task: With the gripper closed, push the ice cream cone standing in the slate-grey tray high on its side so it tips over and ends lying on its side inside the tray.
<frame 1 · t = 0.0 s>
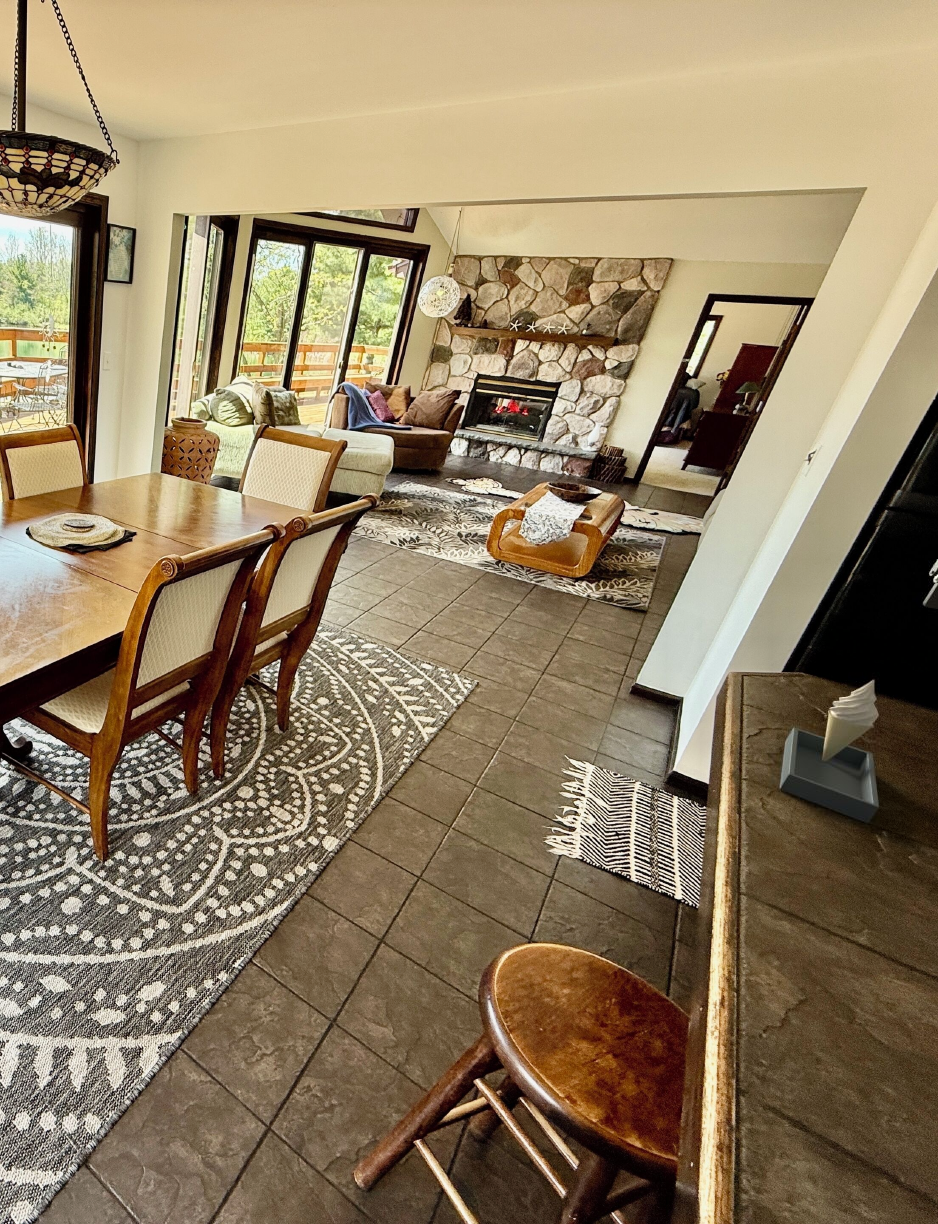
tray: (822, 778, 98), on the countertop
ice cream cone: (823, 761, 103), resting on tray
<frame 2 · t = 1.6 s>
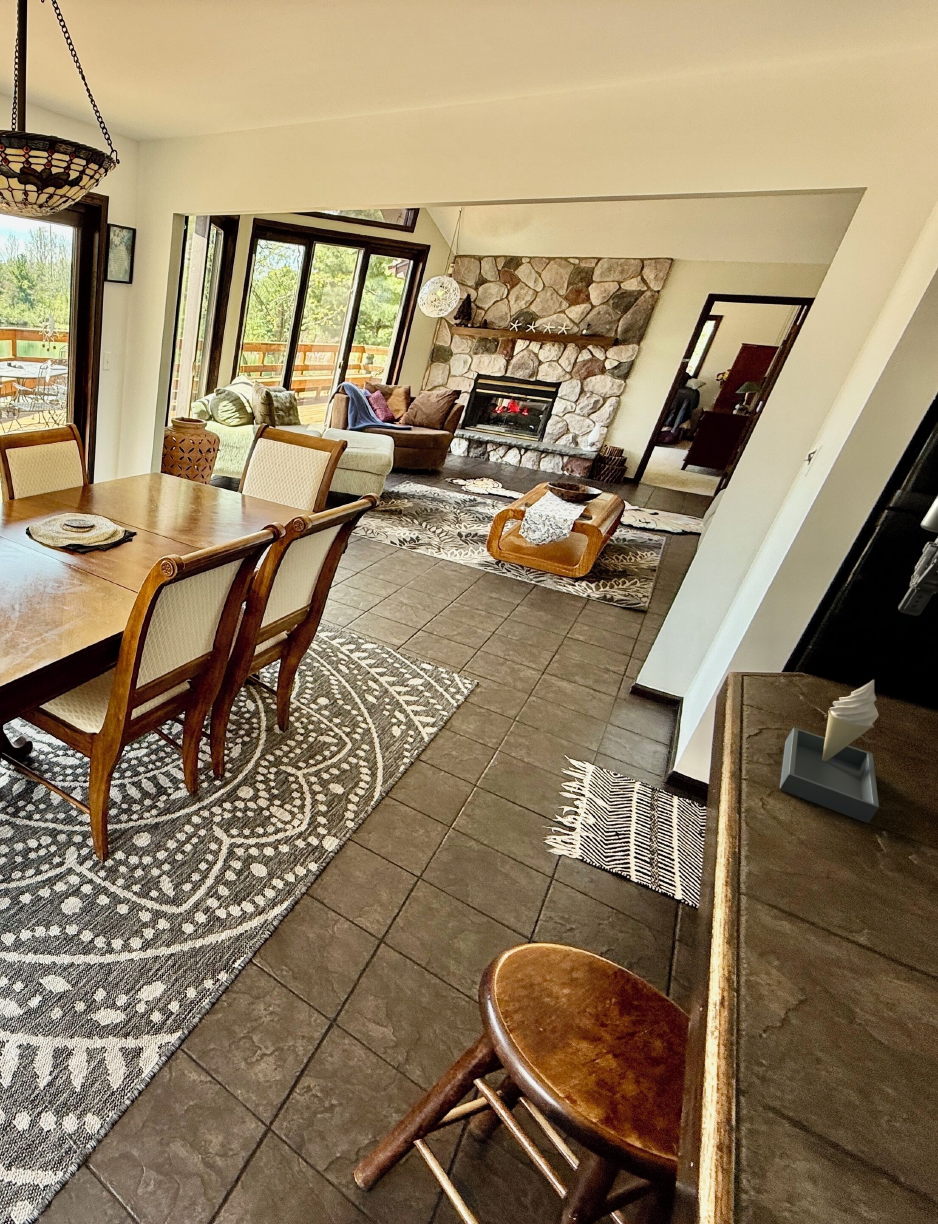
hand: (907, 612, 97), 25 cm above the countertop, tool pointing down, fingers closed
nothing on the countertop moved.
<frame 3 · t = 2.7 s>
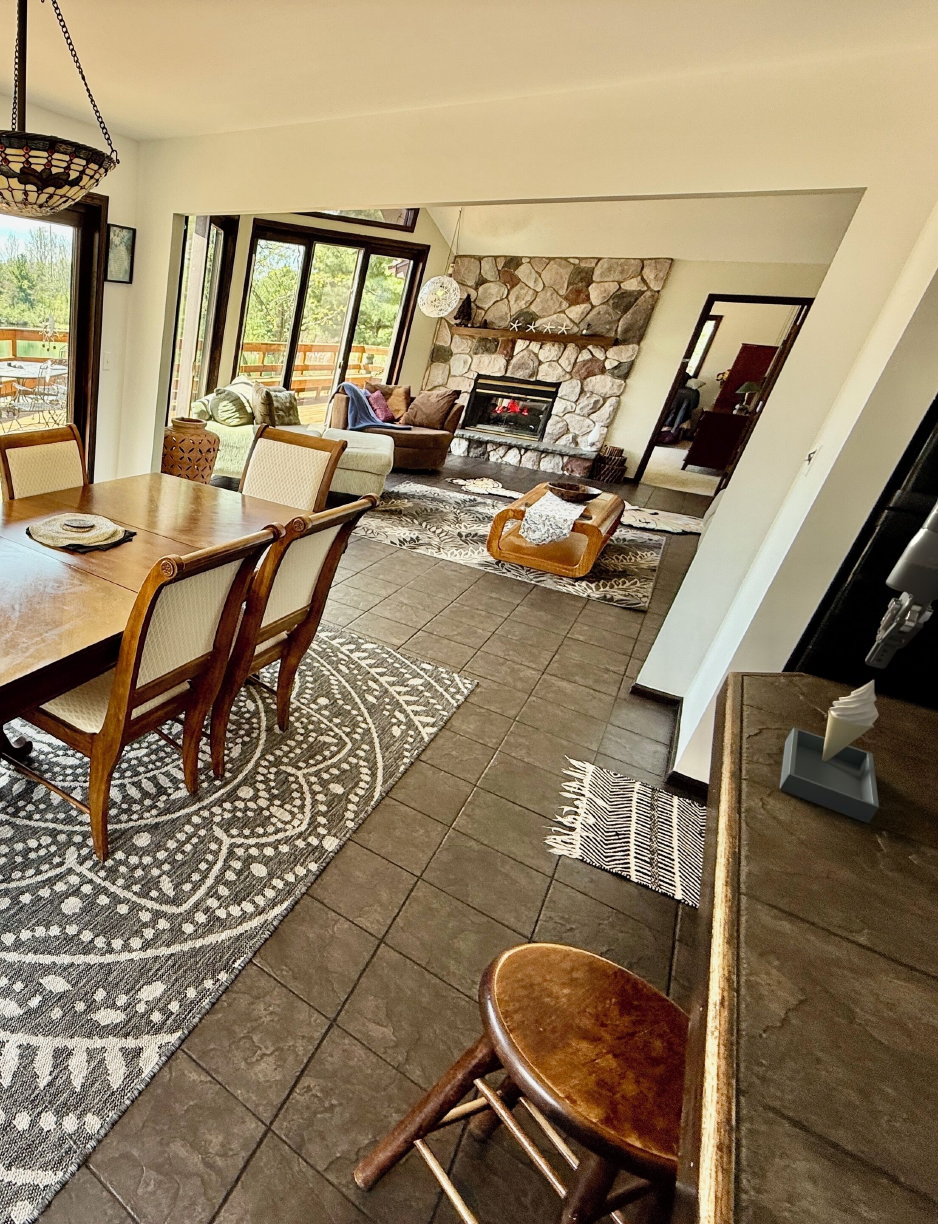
hand: (874, 665, 101), 16 cm above the countertop, tool pointing down, fingers closed
nothing on the countertop moved.
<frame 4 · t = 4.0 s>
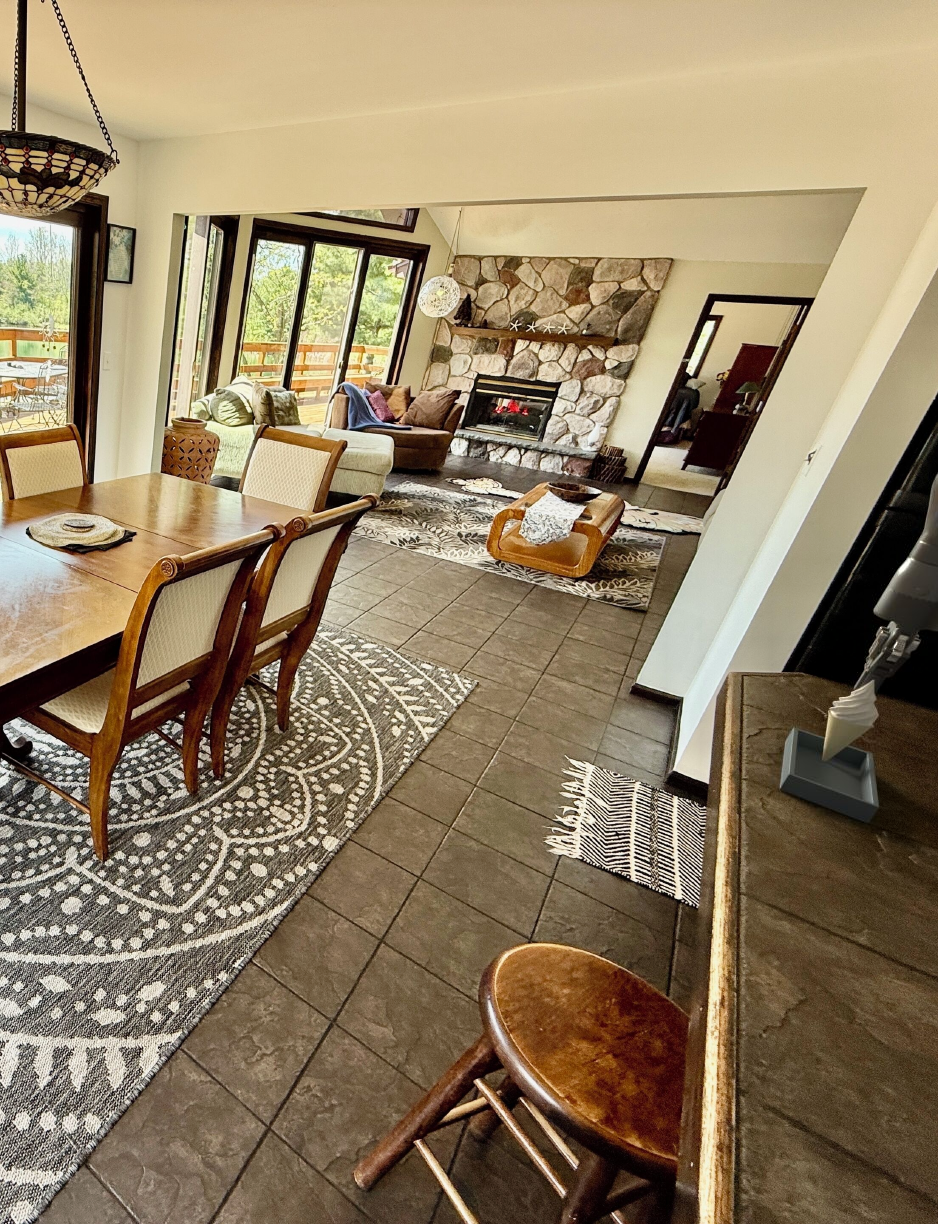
hand: (862, 693, 100), 12 cm above the countertop, tool pointing down, fingers closed
nothing on the countertop moved.
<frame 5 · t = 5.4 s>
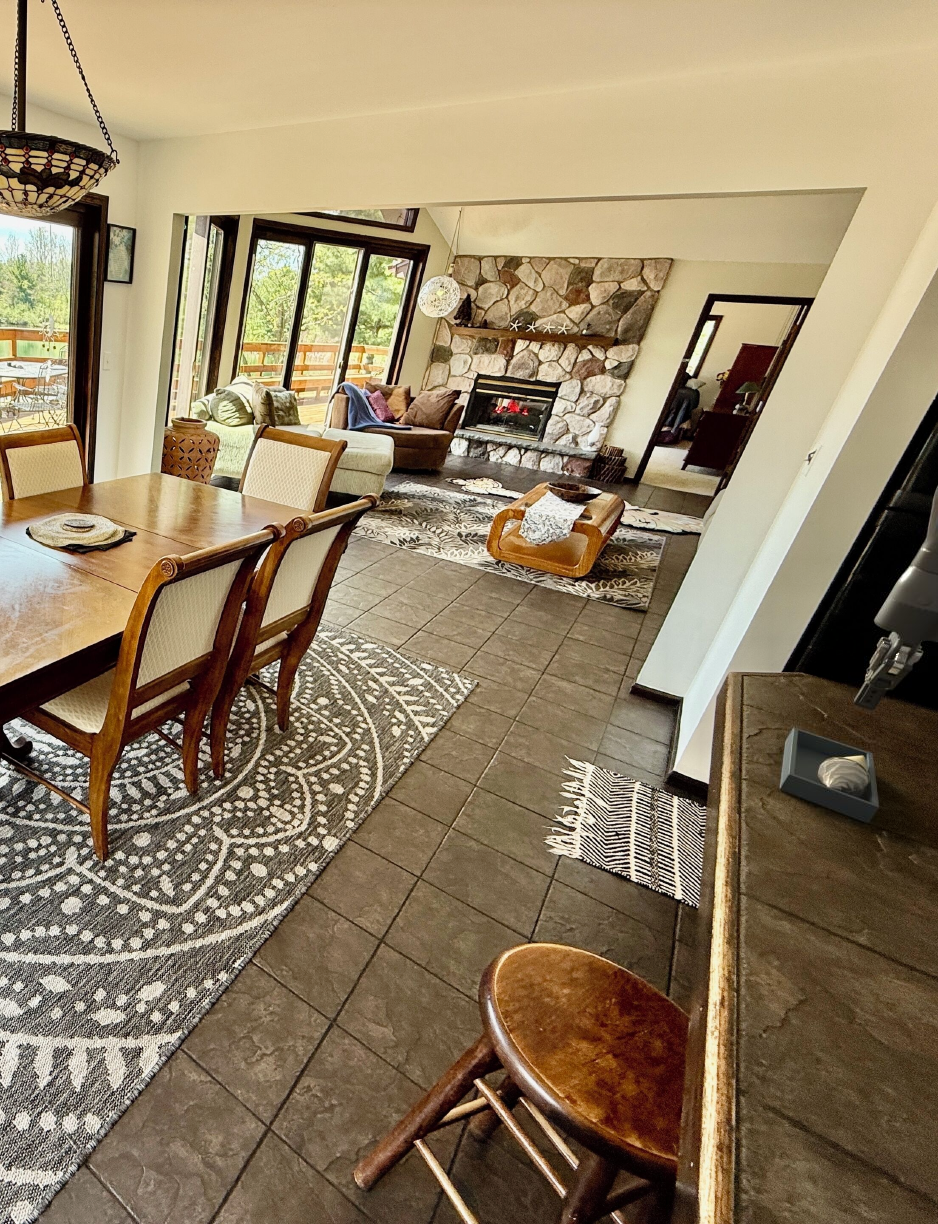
hand: (863, 706, 97), 11 cm above the countertop, tool pointing down, fingers closed
ice cream cone: (862, 756, 99), point 3 cm above the countertop, touching tray
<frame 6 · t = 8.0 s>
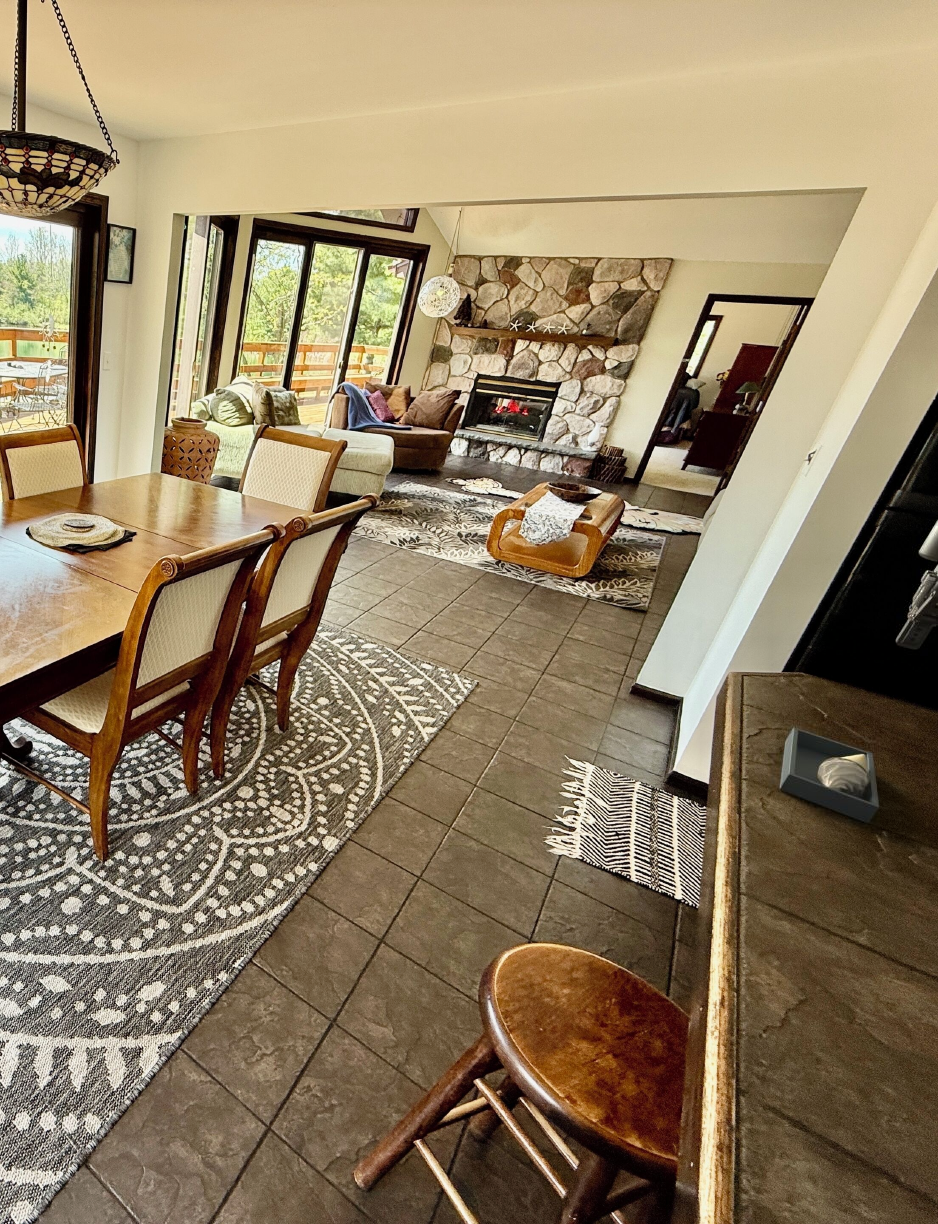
hand: (905, 646, 91), 23 cm above the countertop, tool pointing down, fingers closed
nothing on the countertop moved.
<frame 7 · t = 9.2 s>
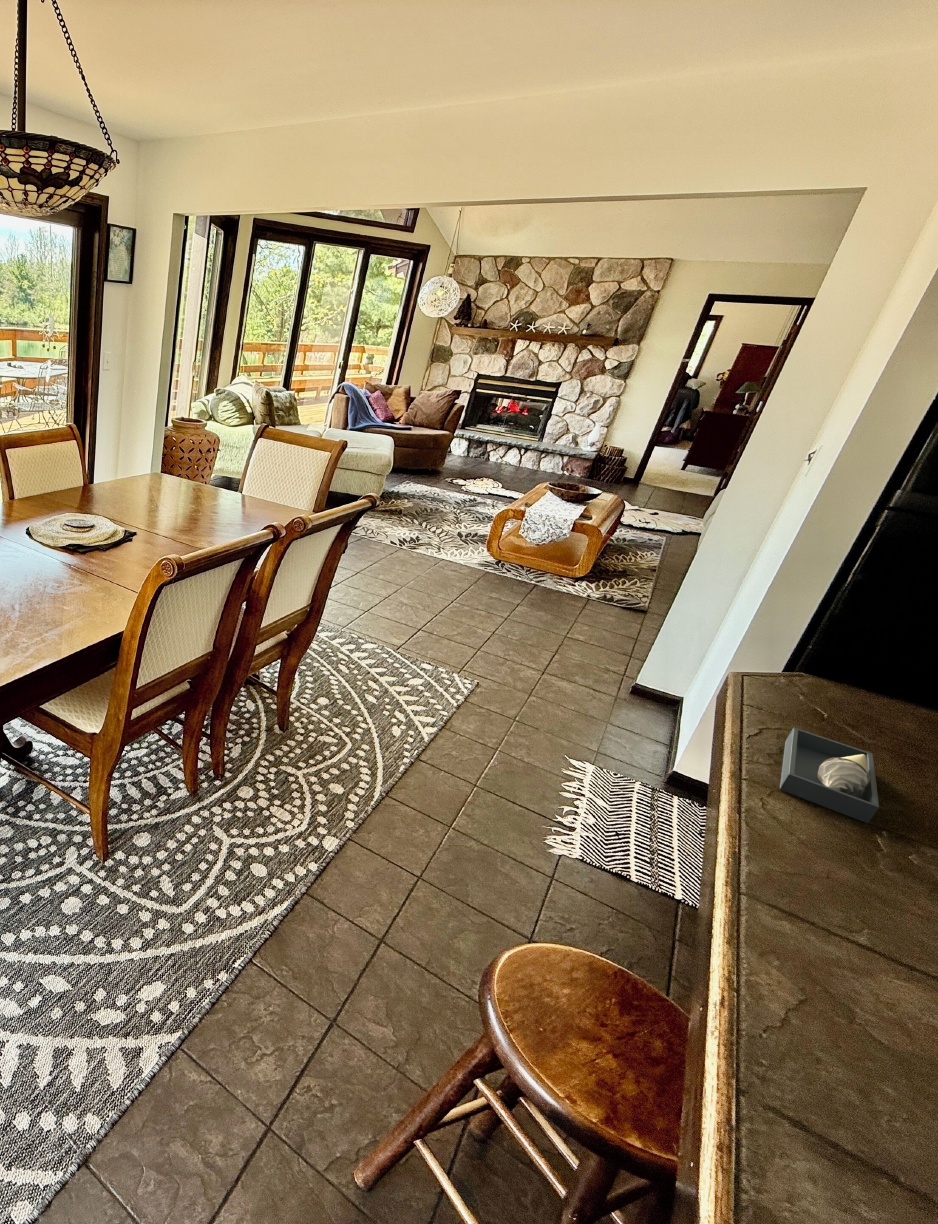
nothing on the countertop moved.
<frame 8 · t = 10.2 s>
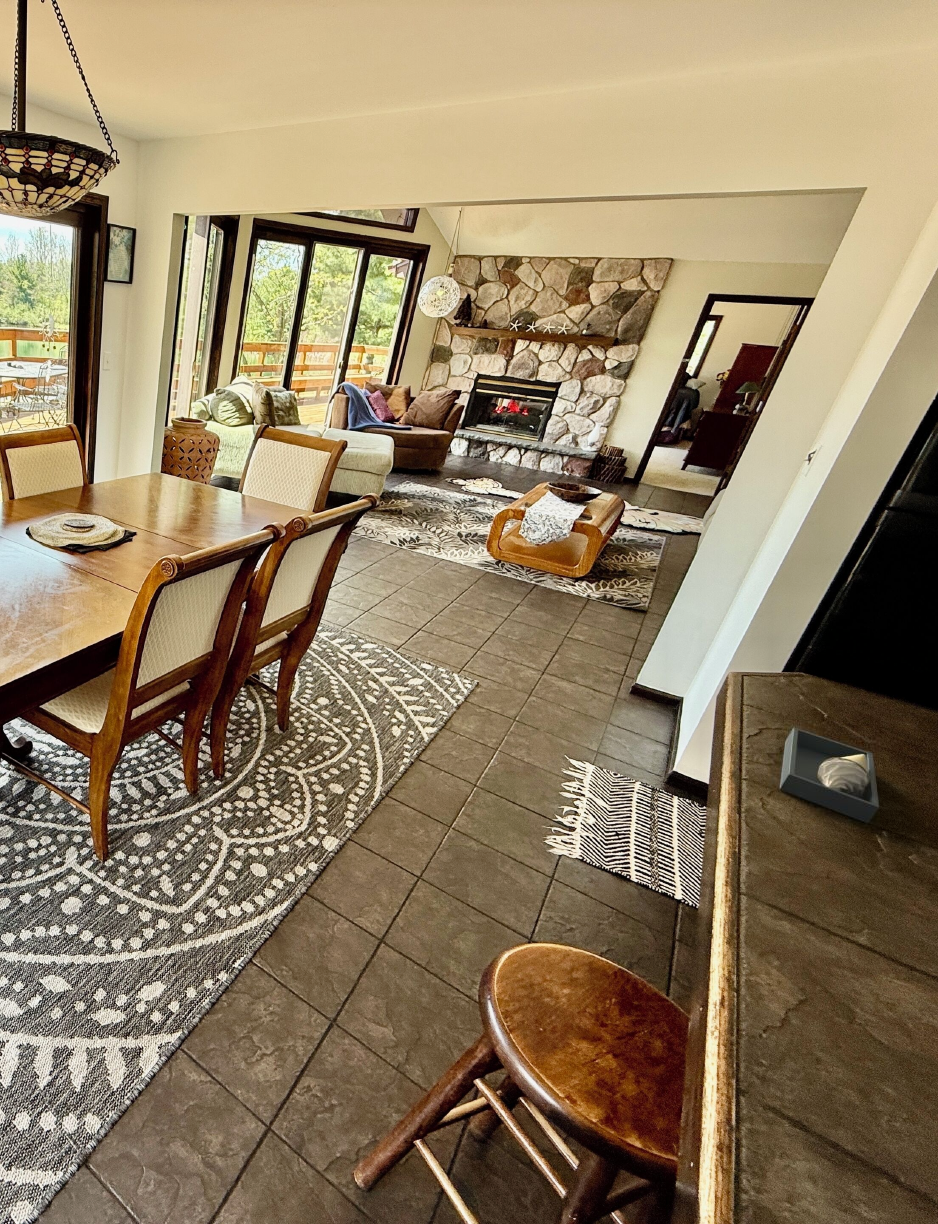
nothing on the countertop moved.
at the end: ice cream cone tilted 96°; ice cream cone 6.3 cm from the tray (horizontally); ice cream cone moved 5.1 cm from its start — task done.
